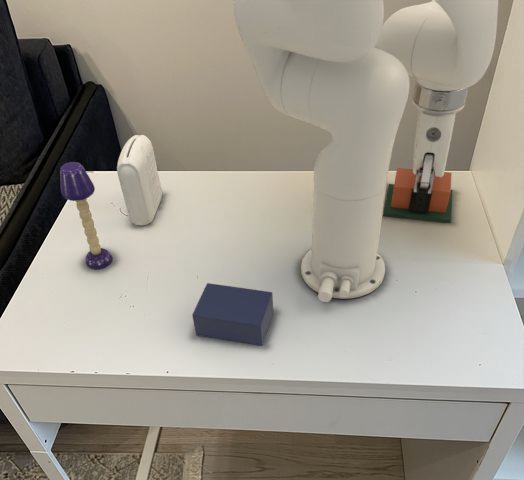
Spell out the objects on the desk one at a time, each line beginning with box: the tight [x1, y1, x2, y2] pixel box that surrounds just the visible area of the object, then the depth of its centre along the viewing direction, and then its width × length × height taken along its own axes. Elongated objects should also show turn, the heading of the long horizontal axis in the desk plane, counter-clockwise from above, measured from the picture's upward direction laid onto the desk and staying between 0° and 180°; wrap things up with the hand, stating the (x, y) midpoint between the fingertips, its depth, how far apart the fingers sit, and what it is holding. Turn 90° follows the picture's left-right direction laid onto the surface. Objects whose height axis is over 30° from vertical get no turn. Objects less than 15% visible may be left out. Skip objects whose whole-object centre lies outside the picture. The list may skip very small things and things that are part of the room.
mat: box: [382, 183, 454, 224], centre depth 94 cm, size 9×11×1 cm
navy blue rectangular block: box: [191, 282, 274, 346], centre depth 75 cm, size 6×10×4 cm
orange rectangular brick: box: [391, 167, 452, 213], centre depth 92 cm, size 6×9×4 cm, turn 76°
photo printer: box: [116, 134, 163, 226], centre depth 92 cm, size 10×4×12 cm, turn 175°
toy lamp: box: [59, 161, 114, 270], centre depth 81 cm, size 5×5×17 cm
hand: (419, 198), depth 93 cm, fingers open, 6 cm apart
